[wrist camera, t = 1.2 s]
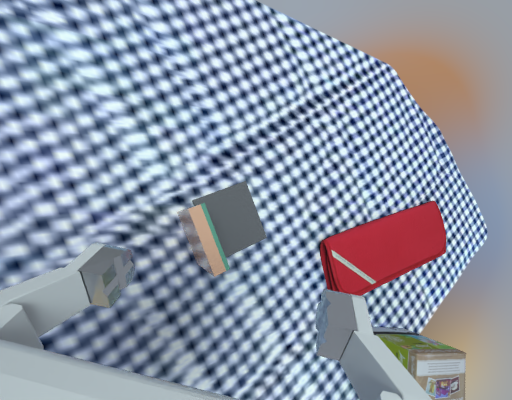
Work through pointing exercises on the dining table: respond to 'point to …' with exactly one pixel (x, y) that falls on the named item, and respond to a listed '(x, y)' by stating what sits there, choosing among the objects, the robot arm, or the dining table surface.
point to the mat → (233, 217)
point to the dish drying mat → (383, 249)
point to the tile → (203, 239)
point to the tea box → (427, 362)
